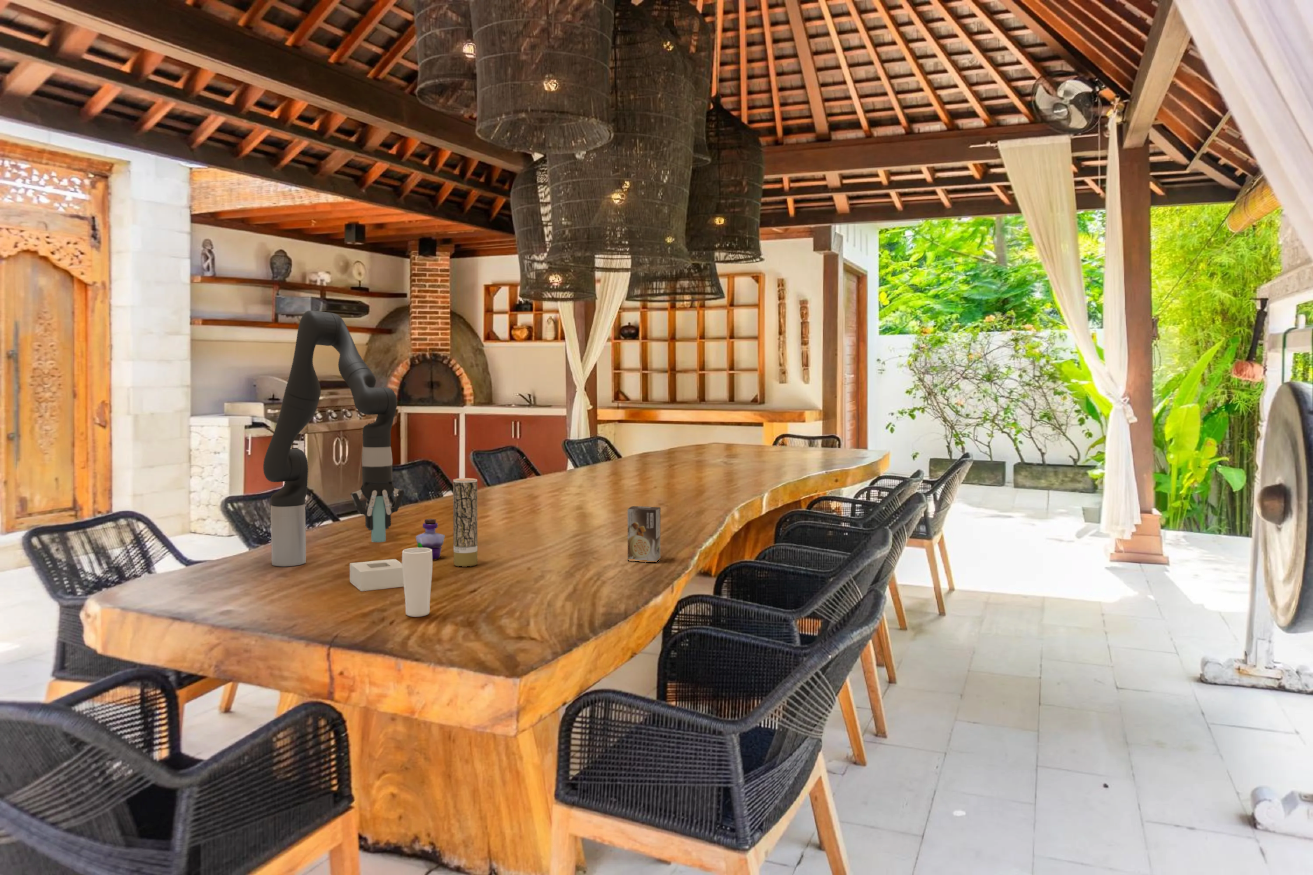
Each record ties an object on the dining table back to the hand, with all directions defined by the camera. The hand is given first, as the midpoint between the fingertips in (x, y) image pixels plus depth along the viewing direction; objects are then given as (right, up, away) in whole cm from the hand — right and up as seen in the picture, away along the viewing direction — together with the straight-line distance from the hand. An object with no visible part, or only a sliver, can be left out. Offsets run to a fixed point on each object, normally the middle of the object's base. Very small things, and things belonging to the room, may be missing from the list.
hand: (378, 528), depth 239 cm
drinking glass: (+18, -17, -29) cm, 38 cm away
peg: (0, -3, 0) cm, 3 cm away
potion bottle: (+5, -13, +35) cm, 37 cm away
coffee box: (+69, -13, +35) cm, 79 cm away
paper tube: (+18, -13, +26) cm, 34 cm away
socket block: (0, -15, +1) cm, 15 cm away
